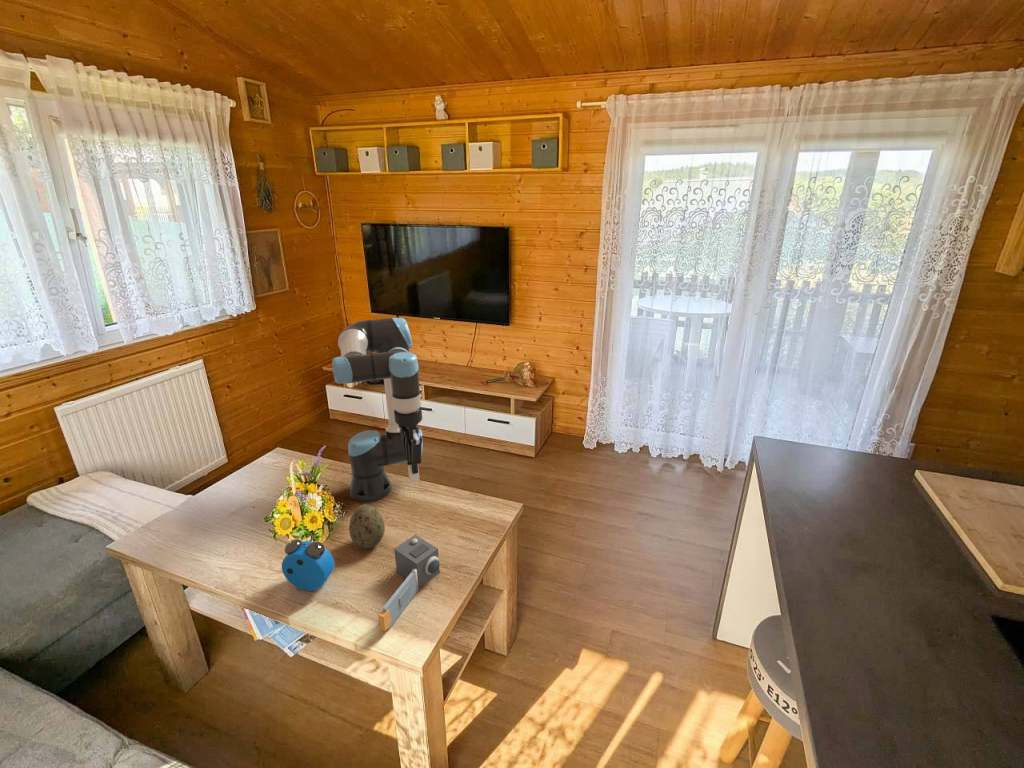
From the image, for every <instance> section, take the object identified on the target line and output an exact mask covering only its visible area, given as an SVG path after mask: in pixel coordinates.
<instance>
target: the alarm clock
mask: <svg viewBox="0 0 1024 768" xmlns="http://www.w3.org/2000/svg"><path fill="white" fill-rule="evenodd" d="M284 553H285V554H286V556H285V557H284V558H283V560H282V562H281V571H282V574H283V576H284V577H285V579H286V581H288V582H289V583H290V584H291V585H292V586H294V587H295V588H298V589H299V590H303V591H307V592H308V591H309V592H310V591H312V592H313V591H316V590H319V589H321V588H322V587H323V585H324V584H325V583H326V582H327V581H328V579H329V577H330V576H331V574H332V573H334V572H333V571H334V569H335V560H334V557H333V555H332V554H331V552H330V551H329V549H327V548H326V547H325V546H324V544H323V543H322V542H320V541H312V540H305V541H302V540H301V539H299V538H295V539H291V540H288V541H287V543H286V545H285V547H284Z"/></svg>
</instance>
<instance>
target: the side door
mask: <svg viewBox="0 0 1024 768" xmlns="http://www.w3.org/2000/svg"><path fill="white" fill-rule="evenodd" d="M404 579H405V578H404ZM419 591H420V590H419V587H418V577H417V569H415V568H414V569H412V572H411V573H410V574H409V576H408V577H407V578H406V579H405V580H404V581H403V582H402V583H400V585H399V586H398V588H397V589H396V590H395V592H394V593H393V594H392V595H391V597H389V599H388V601H387V602H386V603H385V604H384V605H383V607H382V611H381V612H380V613H379V614H378V619H379V626H380V631H383V632H386V631H387V630H390V628H391V627H392V626H393V624H394V623H395V622H396V620H397V619H398V617H399V616H400V615H401V614H402V612H403V611H404V610H405V608H406V607H407V606H408V604H409V603H410V602H411V600H412V599H413V598H414V597H415V595H416V594H417V593H419Z"/></svg>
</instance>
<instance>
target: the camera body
mask: <svg viewBox="0 0 1024 768" xmlns="http://www.w3.org/2000/svg"><path fill="white" fill-rule="evenodd" d="M393 551H394V559H395V567H396V573H397V574H398V576H399V575H400V577H402V578H404V579H406V578H407V577H408V576H409V574H410V573H411V572H412V569H414V568H415V569H417V577H418V587H419V589H421V588H423V587H424V586H425V585H426V584H427V583H429V582H430V581H432V579H434V578H435V577H436V576H438V575H439V574H440V573H441V571H440V568H441V567H440V564H441V563H440V557H439V547H436V546H434V545H433V544H431V543H429V542H428V541H426V540H425V539H423V538H422V537H420V536H418V535H417V534H414V535H412V536H411V537H409V538H407V539H406V540H405V541H403V542H402V543H400V544H399V545H397V546H396V547H395V548H394V549H393Z"/></svg>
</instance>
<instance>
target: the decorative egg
mask: <svg viewBox="0 0 1024 768" xmlns="http://www.w3.org/2000/svg"><path fill="white" fill-rule="evenodd" d="M348 526H349V527H348V531H349V533H348V534H349V536H350V539H351V540H352V542H353V544H355V546H357V547H359V548H361V549H371V548H373V547H375V546H377V545H378V544H379V543H380V542H381V541H382V539H383V537H384V534H385V529H386V527H385V526H386V525H385V520H384V518H383V516H382V514H381V513H380V511H379V510H378V509H377V508H376V507H374V506H372V505H371V504H362V505H359V506H358V507H357V508H356V509H355V510H354V512H353V513H352V516H351V517H350V519H349V525H348Z"/></svg>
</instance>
